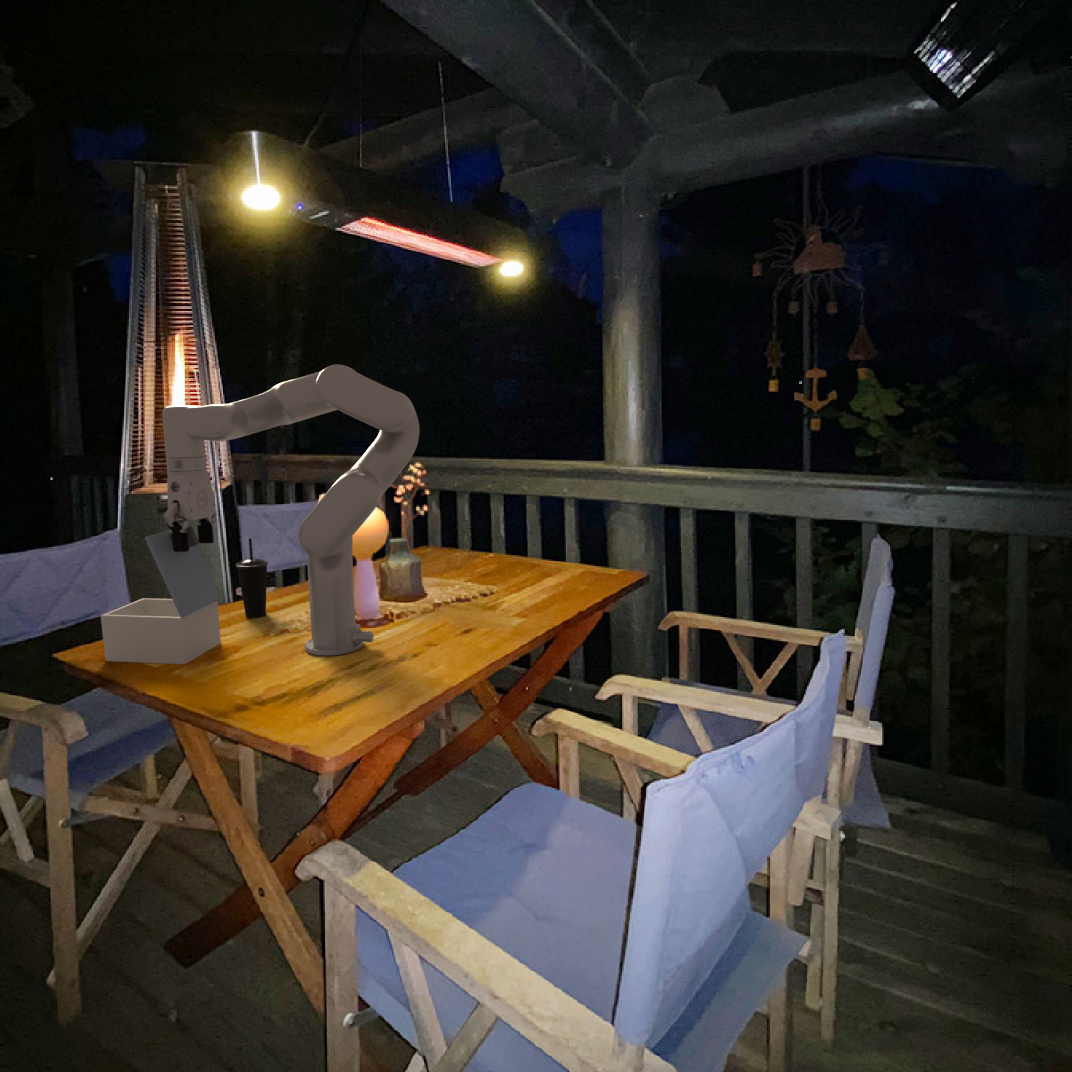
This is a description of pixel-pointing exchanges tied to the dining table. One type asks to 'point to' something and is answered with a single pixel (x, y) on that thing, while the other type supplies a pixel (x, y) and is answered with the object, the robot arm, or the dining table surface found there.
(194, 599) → the lid flap
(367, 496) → the robot arm
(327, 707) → the dining table surface
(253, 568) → the drinking cup
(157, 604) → the carton
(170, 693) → the dining table surface
